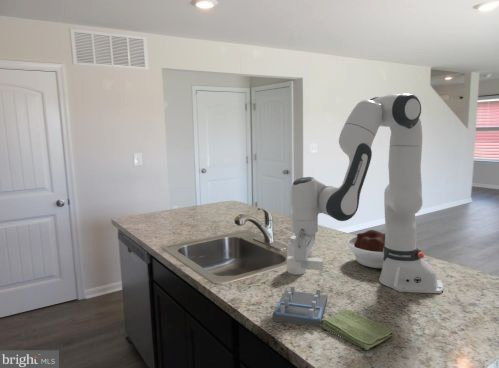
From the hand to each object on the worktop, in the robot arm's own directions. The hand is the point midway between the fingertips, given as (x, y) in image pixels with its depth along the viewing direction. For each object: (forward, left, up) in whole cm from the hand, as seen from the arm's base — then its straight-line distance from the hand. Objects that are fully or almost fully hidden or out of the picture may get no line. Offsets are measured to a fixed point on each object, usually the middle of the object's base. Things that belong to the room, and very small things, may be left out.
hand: (305, 265), depth 126 cm
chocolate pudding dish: (-24, -45, -14) cm, 53 cm away
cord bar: (0, 0, -1) cm, 1 cm away
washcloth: (-17, +14, -14) cm, 26 cm away
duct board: (0, +5, -14) cm, 14 cm away
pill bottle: (+8, -27, -14) cm, 32 cm away
